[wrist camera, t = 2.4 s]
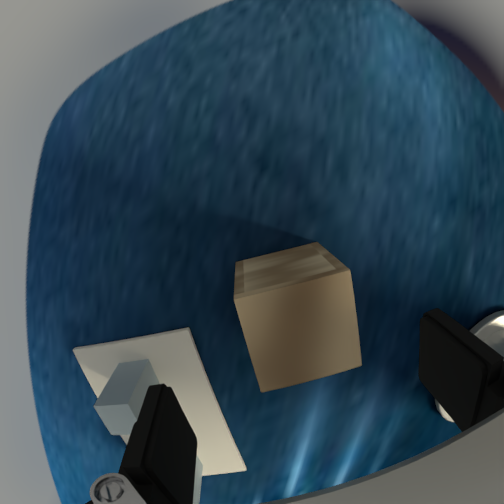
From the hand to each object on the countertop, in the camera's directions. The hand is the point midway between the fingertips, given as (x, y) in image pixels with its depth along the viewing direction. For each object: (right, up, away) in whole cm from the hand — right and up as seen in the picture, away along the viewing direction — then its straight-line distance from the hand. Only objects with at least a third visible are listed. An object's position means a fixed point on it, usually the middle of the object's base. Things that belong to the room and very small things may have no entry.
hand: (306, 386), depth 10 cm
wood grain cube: (0, +2, +11) cm, 11 cm away
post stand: (-9, -9, +13) cm, 18 cm away
